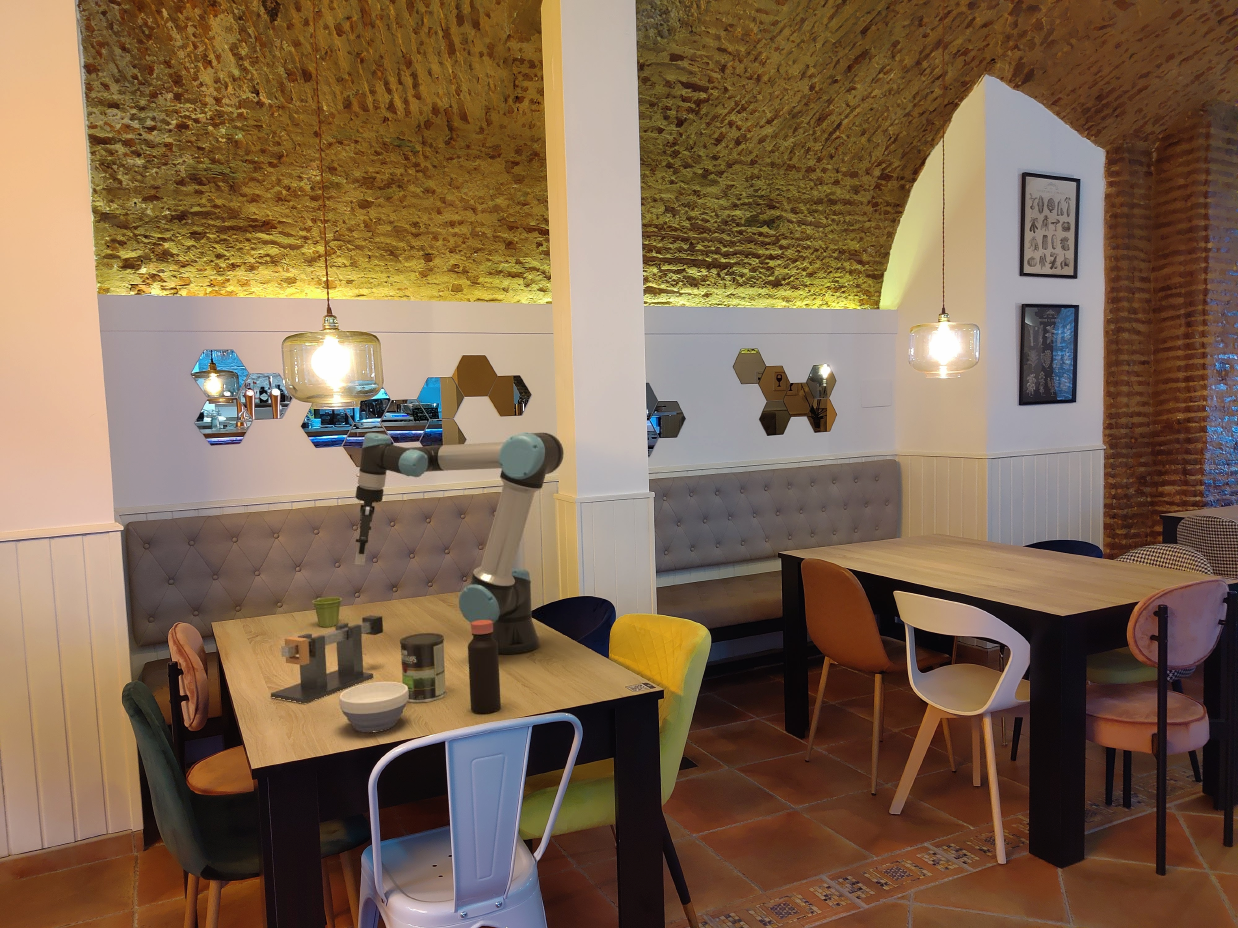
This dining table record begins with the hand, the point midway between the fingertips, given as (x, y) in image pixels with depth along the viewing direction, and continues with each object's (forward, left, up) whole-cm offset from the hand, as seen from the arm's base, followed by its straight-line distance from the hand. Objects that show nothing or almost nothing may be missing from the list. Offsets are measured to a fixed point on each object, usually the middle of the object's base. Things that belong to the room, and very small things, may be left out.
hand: (360, 557), depth 243 cm
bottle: (-65, +26, -28) cm, 75 cm away
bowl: (-49, +44, -28) cm, 72 cm away
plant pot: (+38, -21, -28) cm, 52 cm away
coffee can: (-45, +24, -28) cm, 58 cm away
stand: (-16, +29, -28) cm, 43 cm away
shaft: (-16, +25, -18) cm, 35 cm away
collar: (-16, +37, -19) cm, 45 cm away
